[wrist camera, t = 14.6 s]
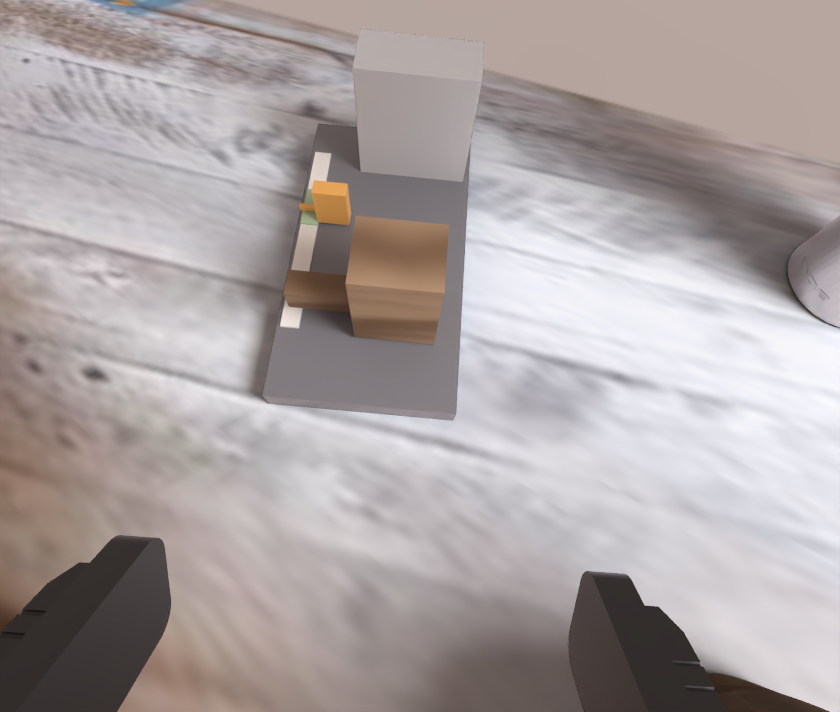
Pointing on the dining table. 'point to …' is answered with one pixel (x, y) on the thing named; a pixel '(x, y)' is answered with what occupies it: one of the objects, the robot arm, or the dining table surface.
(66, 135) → the dining table surface
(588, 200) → the dining table surface
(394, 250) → the brown block
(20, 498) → the dining table surface
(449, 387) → the gauge base
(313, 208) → the pointer
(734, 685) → the wooden container
